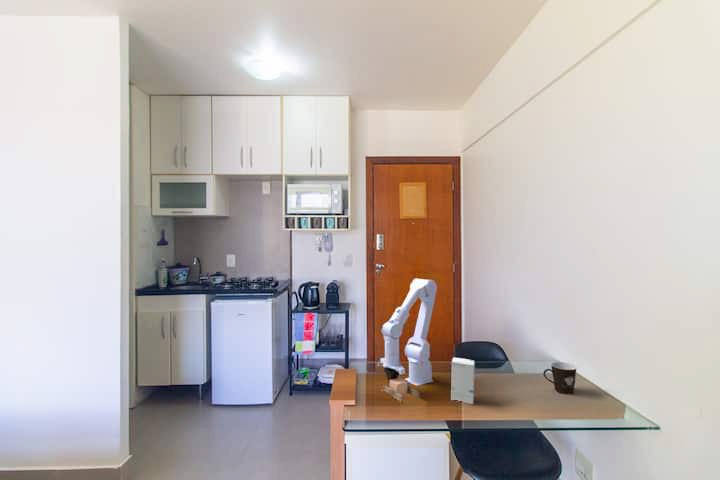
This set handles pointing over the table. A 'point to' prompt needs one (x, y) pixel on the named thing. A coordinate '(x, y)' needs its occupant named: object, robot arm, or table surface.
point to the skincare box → (462, 380)
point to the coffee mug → (563, 377)
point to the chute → (398, 396)
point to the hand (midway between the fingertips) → (392, 386)
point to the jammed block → (399, 386)
